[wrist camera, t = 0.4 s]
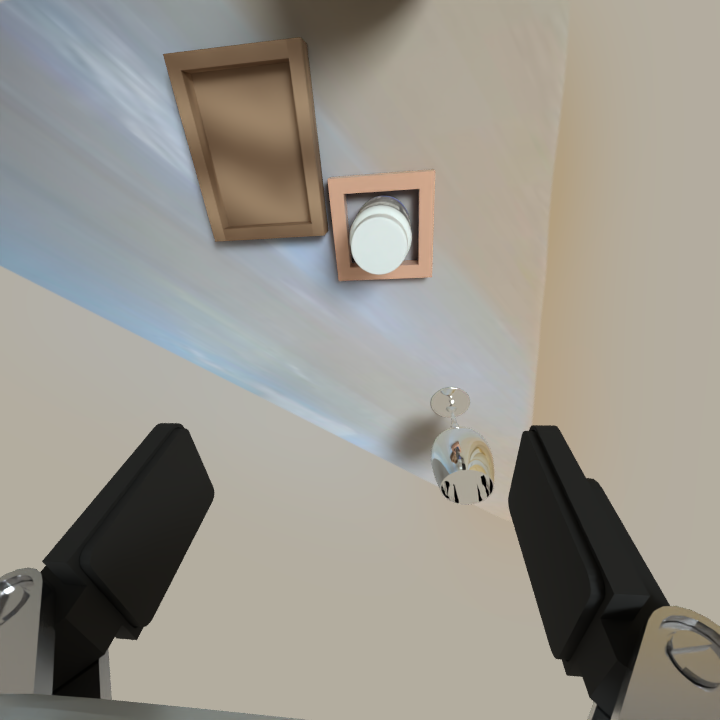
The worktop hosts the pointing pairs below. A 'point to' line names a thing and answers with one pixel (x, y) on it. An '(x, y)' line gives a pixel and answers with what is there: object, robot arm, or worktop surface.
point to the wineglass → (460, 453)
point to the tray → (252, 137)
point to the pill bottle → (381, 235)
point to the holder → (377, 183)
